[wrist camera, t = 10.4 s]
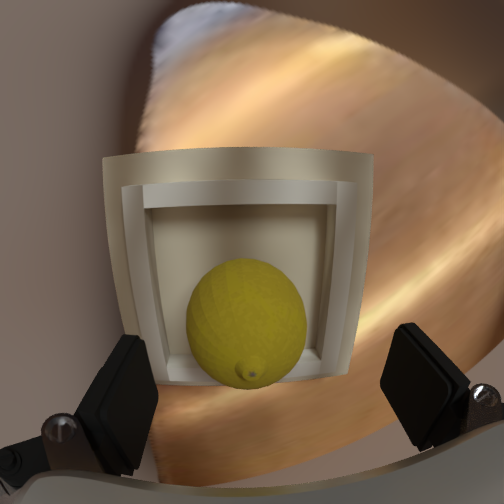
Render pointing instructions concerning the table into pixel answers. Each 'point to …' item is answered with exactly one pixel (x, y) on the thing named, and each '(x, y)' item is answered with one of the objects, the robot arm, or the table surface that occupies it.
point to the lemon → (246, 324)
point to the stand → (239, 242)
